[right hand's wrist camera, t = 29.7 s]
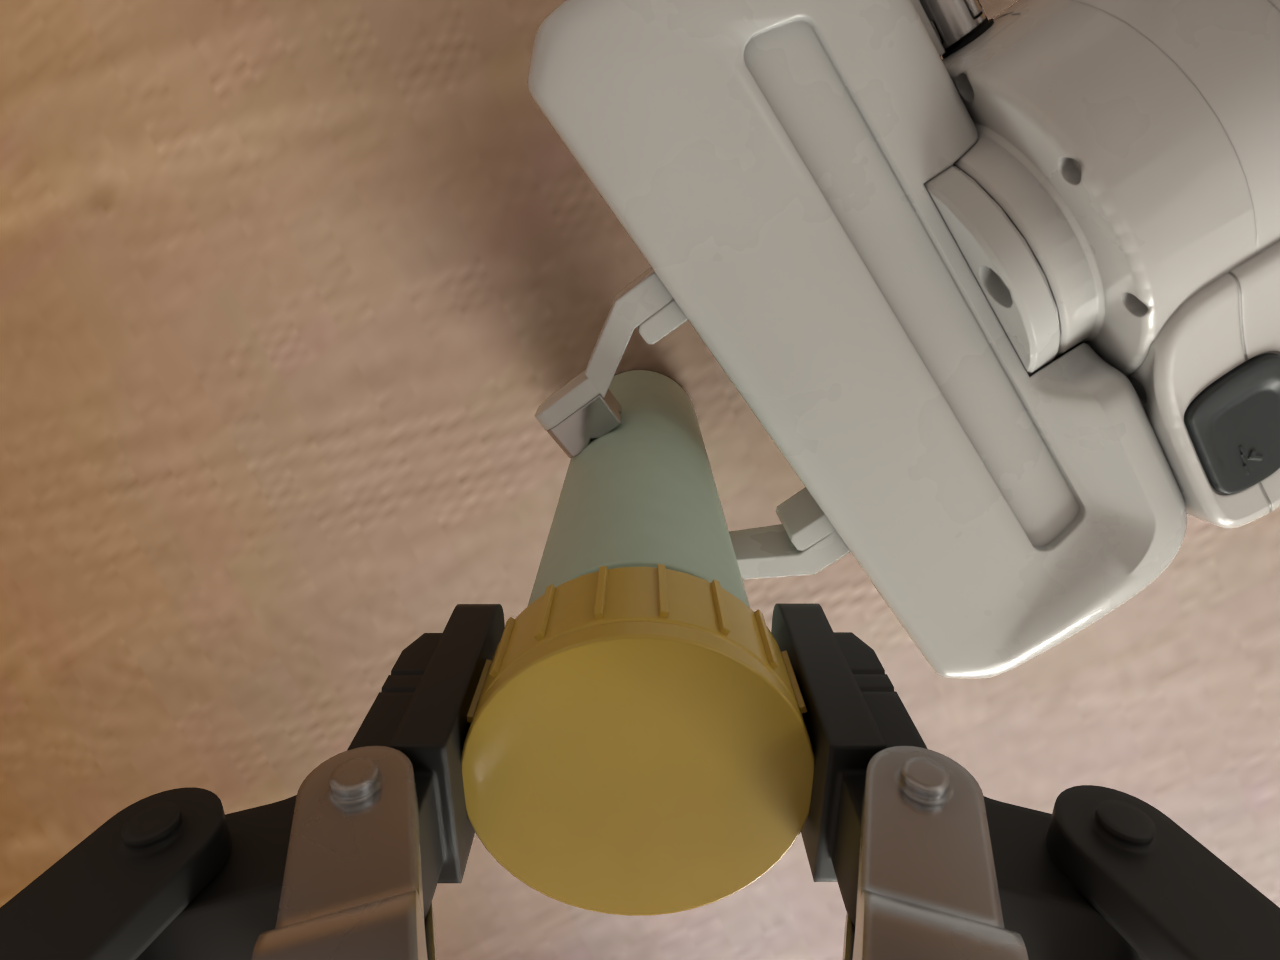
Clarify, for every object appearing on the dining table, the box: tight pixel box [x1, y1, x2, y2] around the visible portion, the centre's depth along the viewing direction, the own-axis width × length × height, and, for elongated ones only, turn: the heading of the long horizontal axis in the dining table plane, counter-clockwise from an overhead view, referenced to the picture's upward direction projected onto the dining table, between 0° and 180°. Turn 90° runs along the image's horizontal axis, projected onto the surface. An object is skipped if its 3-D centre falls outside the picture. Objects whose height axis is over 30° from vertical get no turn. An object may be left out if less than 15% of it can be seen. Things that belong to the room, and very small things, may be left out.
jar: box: [528, 370, 750, 608], centre depth 18 cm, size 4×4×16 cm
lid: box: [461, 564, 814, 915], centre depth 10 cm, size 5×5×2 cm
